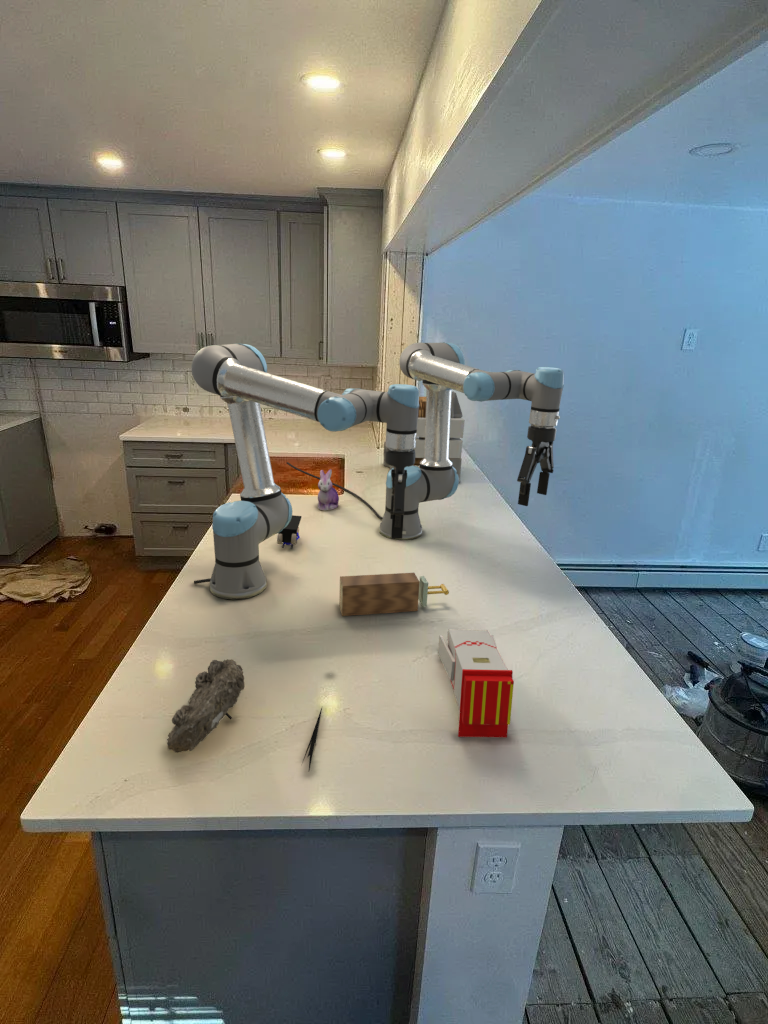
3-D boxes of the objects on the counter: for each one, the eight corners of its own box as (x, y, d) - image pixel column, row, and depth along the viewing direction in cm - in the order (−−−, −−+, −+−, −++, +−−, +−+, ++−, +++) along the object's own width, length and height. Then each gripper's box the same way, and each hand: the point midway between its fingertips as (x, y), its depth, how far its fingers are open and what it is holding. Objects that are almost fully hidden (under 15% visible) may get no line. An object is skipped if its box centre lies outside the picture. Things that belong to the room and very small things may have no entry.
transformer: (382, 463, 289) (386, 382, 275) (445, 464, 293) (451, 384, 279) (390, 482, 257) (394, 392, 243) (460, 483, 261) (468, 394, 247)
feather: (331, 679, 122) (336, 673, 122) (307, 777, 96) (313, 769, 95) (324, 675, 122) (329, 669, 121) (298, 772, 95) (304, 764, 95)
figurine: (321, 512, 217) (321, 474, 212) (311, 504, 225) (311, 467, 220) (344, 509, 221) (344, 472, 216) (333, 501, 229) (334, 465, 224)
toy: (488, 613, 130) (523, 677, 101) (484, 667, 133) (517, 744, 104) (435, 612, 130) (455, 676, 101) (432, 666, 133) (451, 743, 103)
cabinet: (412, 601, 154) (414, 572, 151) (417, 611, 149) (419, 581, 146) (339, 605, 150) (339, 576, 147) (342, 616, 145) (342, 586, 142)
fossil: (192, 660, 117) (244, 628, 112) (224, 691, 120) (276, 661, 115) (142, 746, 98) (202, 712, 93) (182, 779, 101) (242, 748, 96)
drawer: (443, 597, 155) (445, 574, 153) (448, 605, 151) (450, 581, 149) (353, 603, 150) (353, 579, 148) (355, 611, 146) (356, 587, 144)
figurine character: (297, 555, 182) (302, 533, 196) (296, 534, 179) (302, 513, 192) (276, 554, 182) (283, 532, 195) (275, 534, 178) (282, 512, 192)
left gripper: (418, 462, 129) (412, 547, 136) (413, 438, 153) (408, 512, 160) (385, 460, 129) (381, 546, 136) (385, 436, 152) (381, 511, 160)
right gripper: (538, 434, 144) (527, 513, 151) (571, 422, 163) (560, 492, 170) (510, 429, 148) (501, 506, 155) (546, 418, 167) (537, 487, 174)
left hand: (395, 528), depth 148 cm, fingers open, 13 cm apart
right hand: (532, 499), depth 162 cm, fingers open, 13 cm apart
